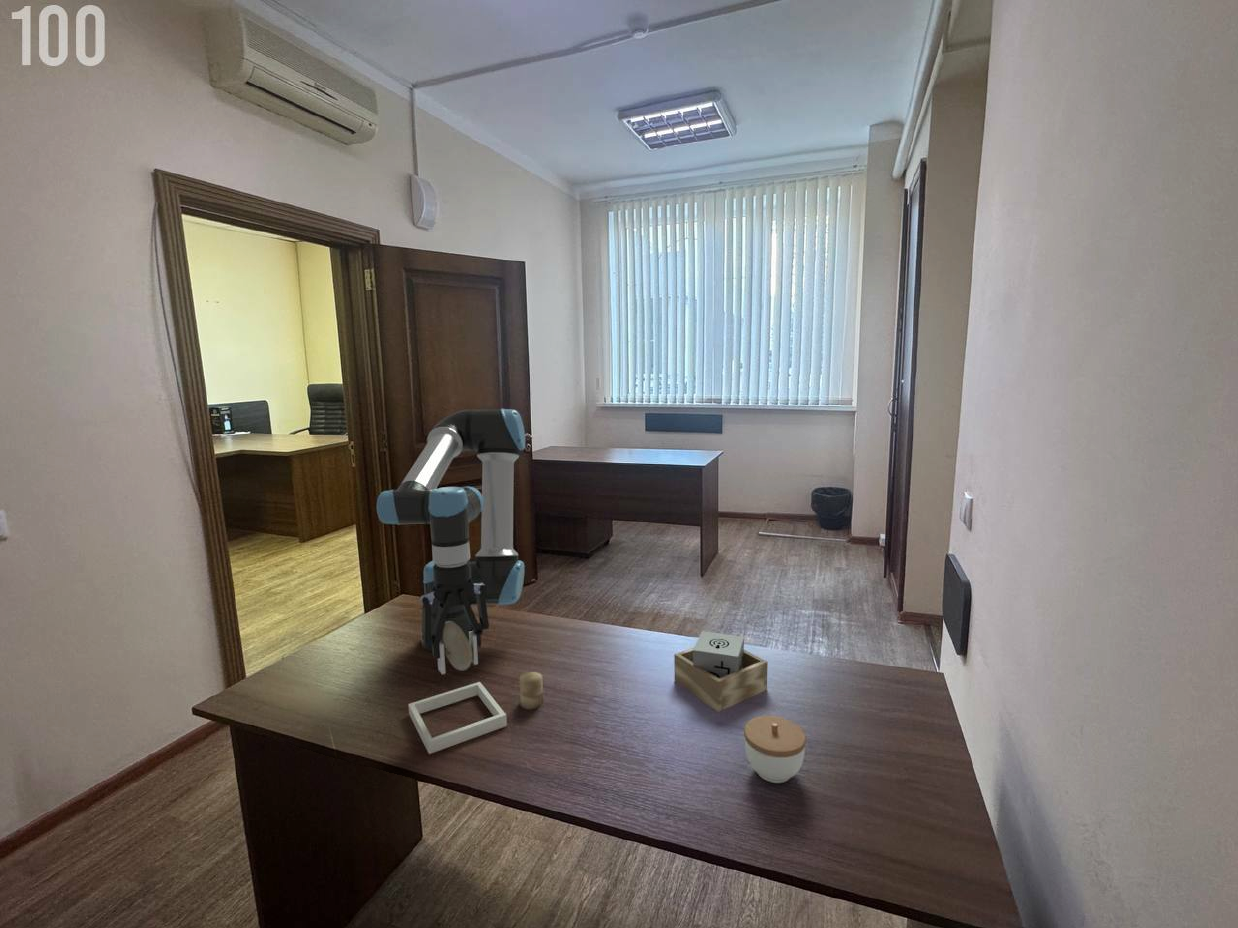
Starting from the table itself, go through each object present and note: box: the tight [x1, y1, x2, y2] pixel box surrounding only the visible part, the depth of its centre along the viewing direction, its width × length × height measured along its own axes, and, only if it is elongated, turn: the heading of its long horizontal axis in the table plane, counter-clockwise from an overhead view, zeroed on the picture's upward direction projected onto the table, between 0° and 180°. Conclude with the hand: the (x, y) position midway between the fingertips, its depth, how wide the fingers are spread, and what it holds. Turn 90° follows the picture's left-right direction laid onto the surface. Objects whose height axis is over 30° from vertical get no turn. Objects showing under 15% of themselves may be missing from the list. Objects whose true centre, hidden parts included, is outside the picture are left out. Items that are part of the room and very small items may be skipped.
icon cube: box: [693, 630, 745, 678], centre depth 132 cm, size 10×10×10 cm
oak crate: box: [673, 647, 769, 713], centre depth 132 cm, size 15×15×7 cm
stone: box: [441, 621, 473, 671], centre depth 121 cm, size 6×6×12 cm
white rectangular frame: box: [407, 681, 508, 755], centre depth 121 cm, size 16×16×2 cm
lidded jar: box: [743, 715, 807, 784], centre depth 103 cm, size 11×11×9 cm
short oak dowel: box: [519, 671, 544, 710], centre depth 127 cm, size 5×5×6 cm
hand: (458, 666), depth 122 cm, fingers closed on stone, 6 cm apart
